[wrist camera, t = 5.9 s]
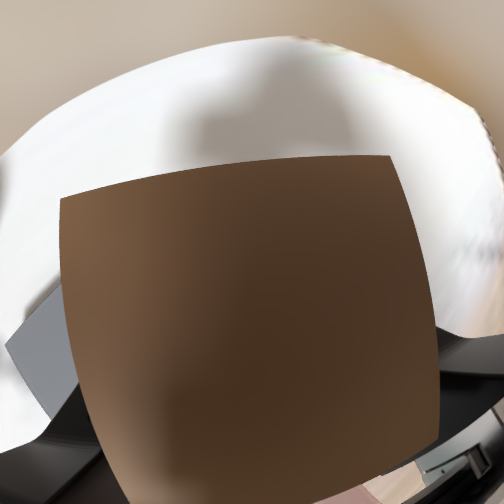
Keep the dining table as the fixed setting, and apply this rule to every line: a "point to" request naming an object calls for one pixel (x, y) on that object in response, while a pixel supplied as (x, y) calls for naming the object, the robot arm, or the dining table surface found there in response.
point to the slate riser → (45, 354)
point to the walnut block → (251, 329)
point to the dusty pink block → (352, 497)
